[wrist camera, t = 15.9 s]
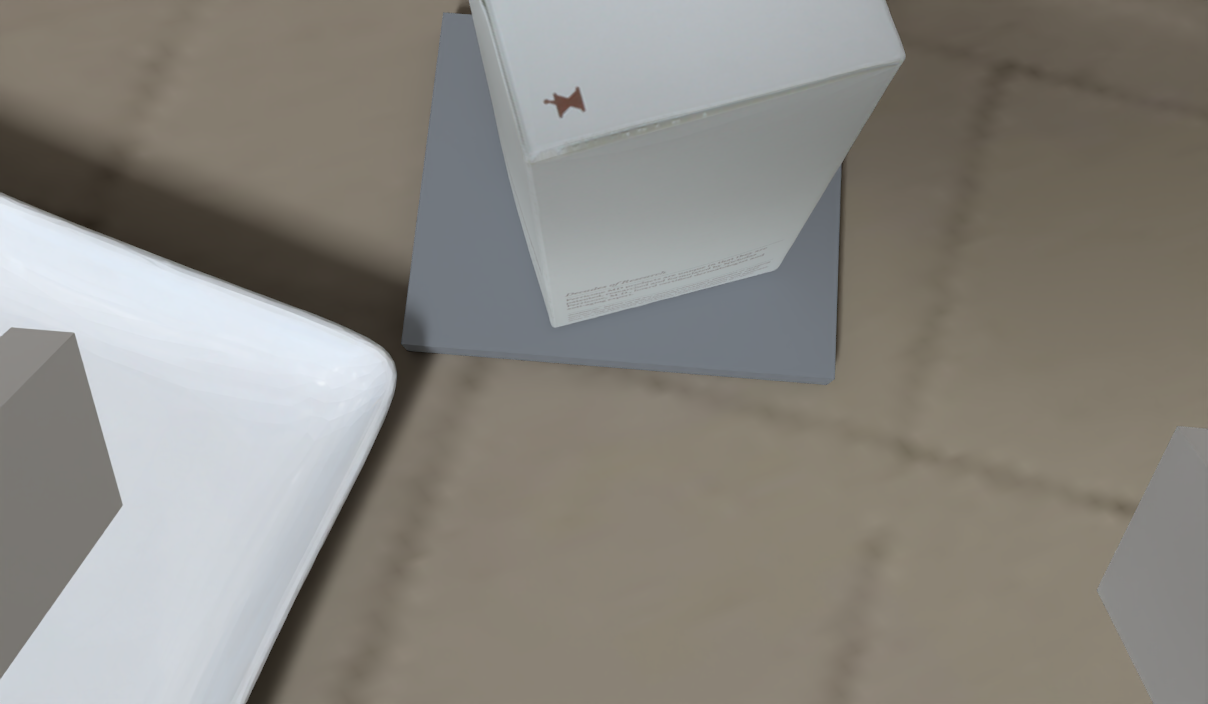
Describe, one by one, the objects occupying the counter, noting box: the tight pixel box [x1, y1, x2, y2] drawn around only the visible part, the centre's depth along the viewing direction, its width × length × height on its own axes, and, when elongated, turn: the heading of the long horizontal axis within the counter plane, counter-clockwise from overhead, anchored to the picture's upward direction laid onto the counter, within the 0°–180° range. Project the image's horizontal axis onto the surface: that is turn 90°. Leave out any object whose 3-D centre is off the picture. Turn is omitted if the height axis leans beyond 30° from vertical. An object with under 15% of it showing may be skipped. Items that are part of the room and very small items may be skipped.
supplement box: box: [469, 0, 906, 328], centre depth 24 cm, size 7×7×13 cm
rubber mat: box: [401, 13, 841, 385], centre depth 30 cm, size 13×11×1 cm
